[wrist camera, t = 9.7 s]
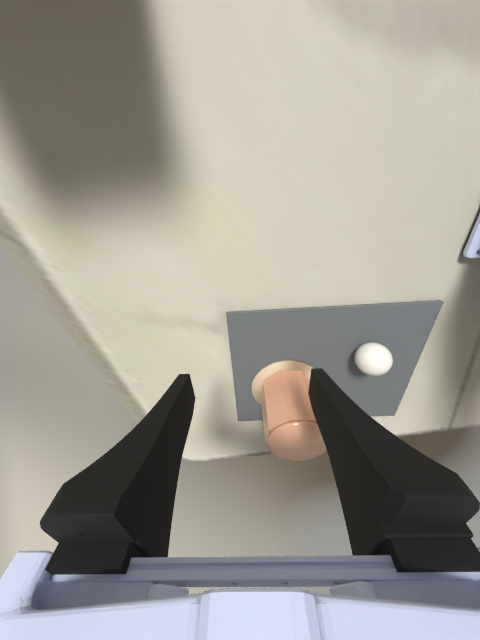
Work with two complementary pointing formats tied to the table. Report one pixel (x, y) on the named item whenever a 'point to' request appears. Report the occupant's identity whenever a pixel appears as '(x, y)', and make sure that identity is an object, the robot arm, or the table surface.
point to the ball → (373, 359)
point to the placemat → (331, 348)
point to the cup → (290, 417)
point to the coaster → (273, 369)
